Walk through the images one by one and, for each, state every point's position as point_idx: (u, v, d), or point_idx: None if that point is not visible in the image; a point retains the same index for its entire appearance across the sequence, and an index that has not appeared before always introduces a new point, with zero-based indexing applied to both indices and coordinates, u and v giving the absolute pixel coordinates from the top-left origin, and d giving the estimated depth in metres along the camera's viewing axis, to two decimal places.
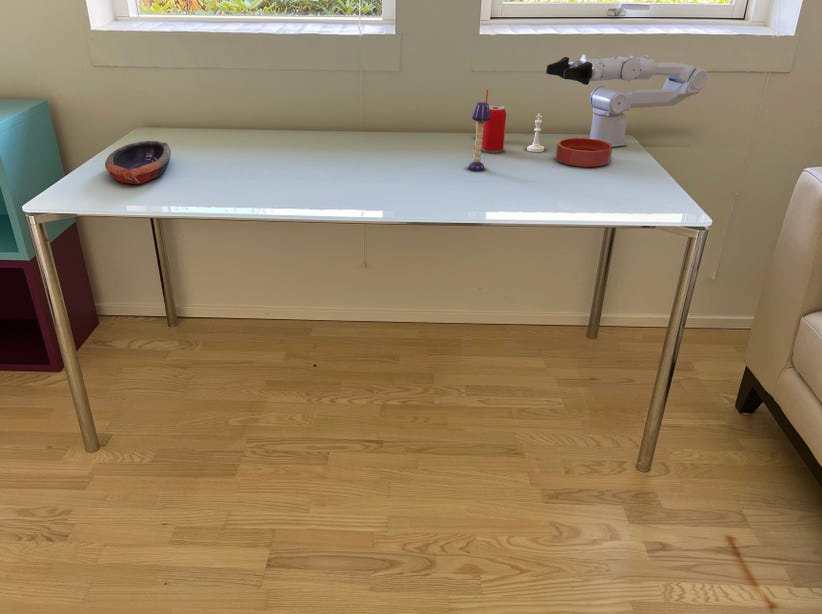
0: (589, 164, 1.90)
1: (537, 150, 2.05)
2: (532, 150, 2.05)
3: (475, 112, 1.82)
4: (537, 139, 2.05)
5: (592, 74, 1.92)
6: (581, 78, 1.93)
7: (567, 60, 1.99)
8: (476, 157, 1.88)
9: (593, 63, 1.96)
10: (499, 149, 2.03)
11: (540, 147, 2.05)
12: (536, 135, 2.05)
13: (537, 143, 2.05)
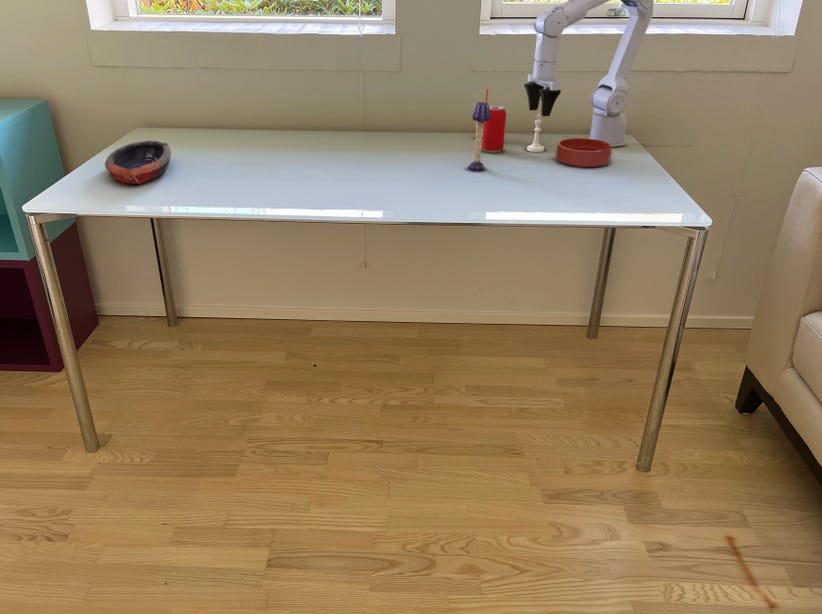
0: (589, 164, 1.90)
1: (537, 150, 2.05)
2: (532, 150, 2.05)
3: (475, 112, 1.82)
4: (537, 139, 2.05)
5: None
6: (553, 96, 1.96)
7: (528, 87, 2.01)
8: (476, 157, 1.88)
9: (540, 74, 1.94)
10: (499, 149, 2.03)
11: (540, 147, 2.05)
12: (536, 135, 2.05)
13: (537, 143, 2.05)
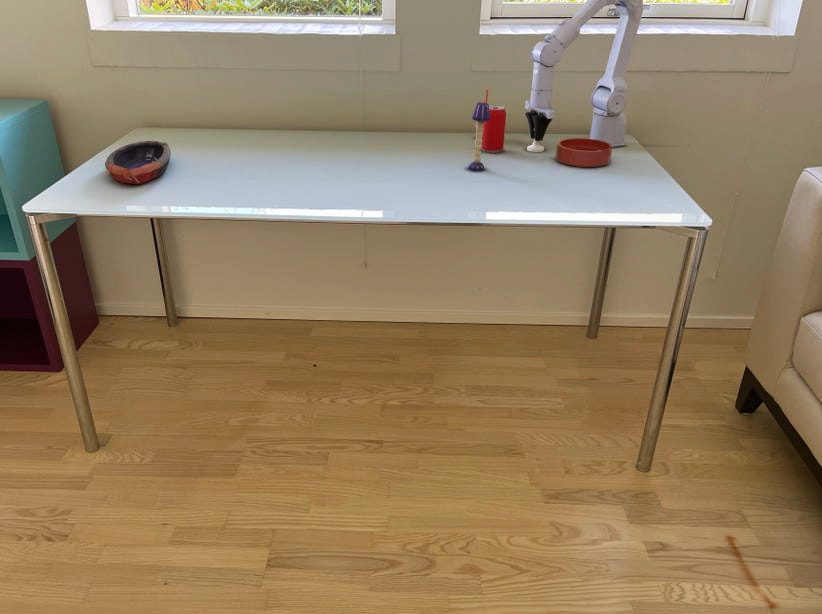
0: (589, 164, 1.90)
1: (537, 150, 2.05)
2: (532, 150, 2.05)
3: (475, 112, 1.82)
4: None
5: None
6: (546, 122, 2.01)
7: (530, 116, 2.03)
8: (476, 157, 1.88)
9: (537, 102, 1.98)
10: (499, 149, 2.03)
11: (540, 147, 2.05)
12: None
13: (537, 143, 2.05)
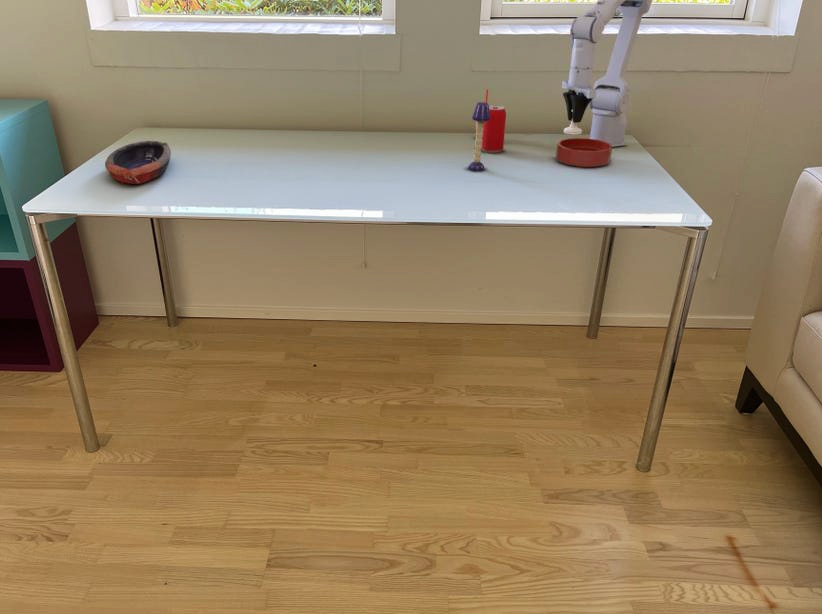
0: (589, 164, 1.90)
1: (575, 132, 1.94)
2: (569, 132, 1.94)
3: (475, 112, 1.82)
4: None
5: (590, 97, 1.86)
6: (585, 102, 1.90)
7: (568, 96, 1.92)
8: (476, 157, 1.88)
9: (576, 81, 1.87)
10: (499, 149, 2.03)
11: (578, 129, 1.95)
12: None
13: (575, 125, 1.94)
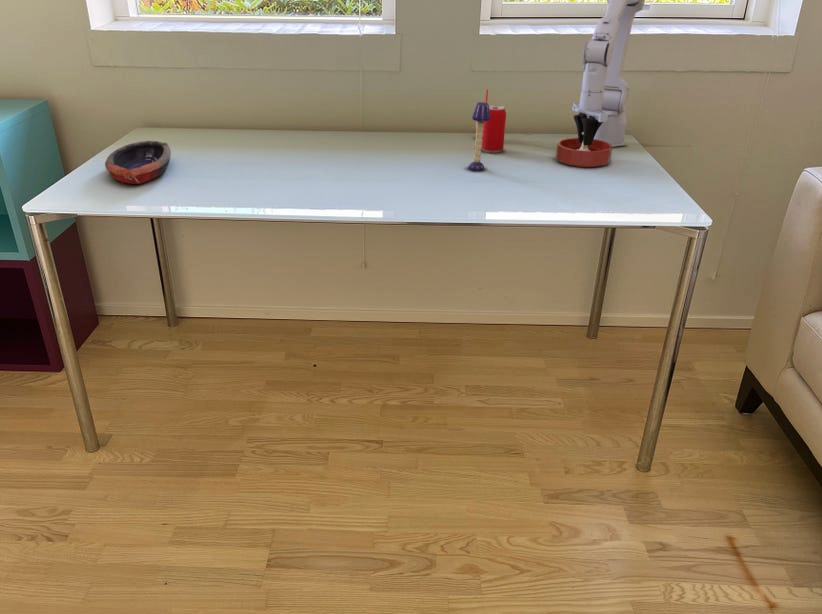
0: (589, 164, 1.90)
1: None
2: None
3: (475, 112, 1.82)
4: None
5: None
6: (596, 125, 1.90)
7: (578, 119, 1.92)
8: (476, 157, 1.88)
9: (587, 104, 1.87)
10: (499, 149, 2.03)
11: None
12: None
13: (585, 148, 1.94)
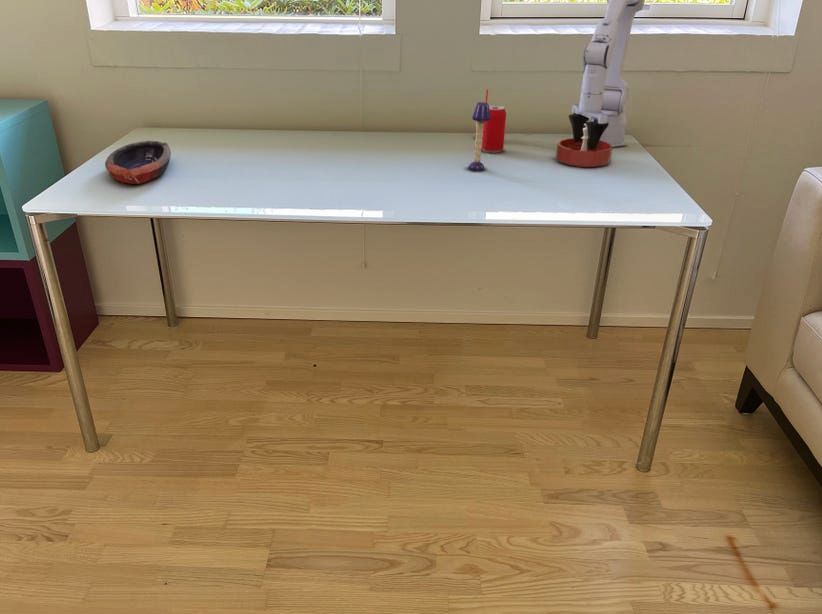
0: (589, 164, 1.90)
1: None
2: None
3: (475, 112, 1.82)
4: (585, 148, 1.95)
5: None
6: (600, 129, 1.89)
7: (573, 118, 1.94)
8: (476, 157, 1.88)
9: (587, 106, 1.87)
10: (499, 149, 2.03)
11: None
12: (584, 144, 1.94)
13: None
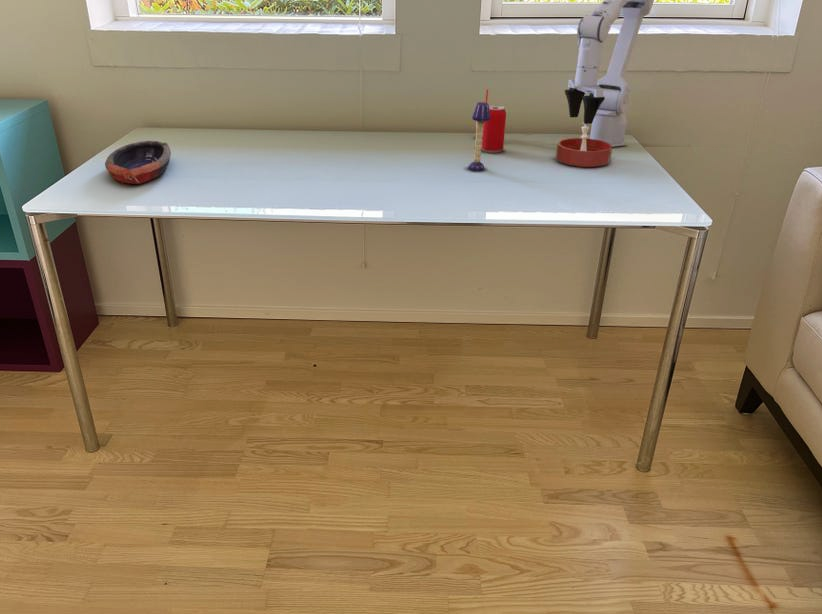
0: (589, 164, 1.90)
1: None
2: None
3: (475, 112, 1.82)
4: (584, 146, 1.95)
5: (597, 96, 1.87)
6: (596, 103, 1.89)
7: (569, 93, 1.95)
8: (476, 157, 1.88)
9: (583, 80, 1.88)
10: (499, 149, 2.03)
11: None
12: (583, 142, 1.95)
13: (584, 150, 1.95)
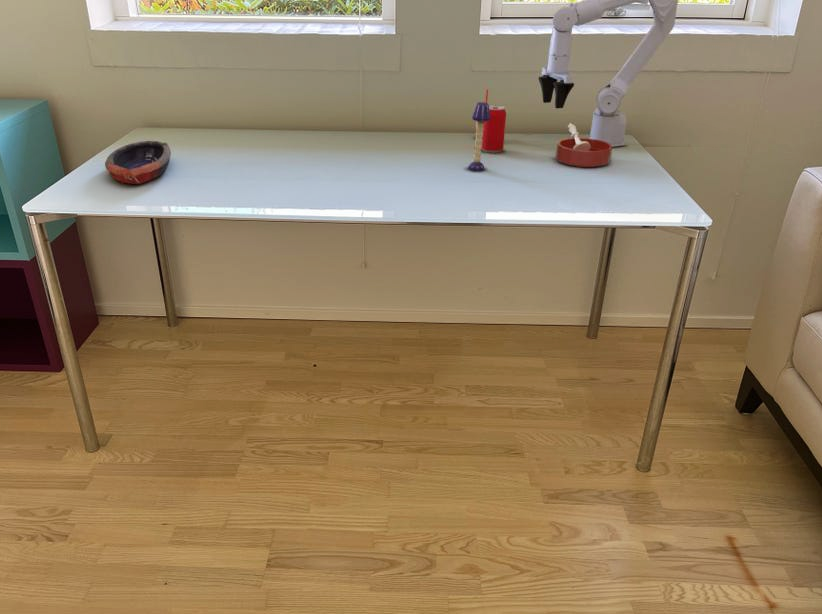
0: (589, 164, 1.90)
1: (583, 142, 1.95)
2: (578, 144, 1.95)
3: (475, 112, 1.82)
4: (579, 140, 1.98)
5: (567, 82, 2.01)
6: (567, 89, 2.03)
7: (543, 80, 2.09)
8: (476, 157, 1.88)
9: (554, 67, 2.02)
10: (499, 149, 2.03)
11: None
12: (576, 137, 1.98)
13: (580, 142, 1.97)
